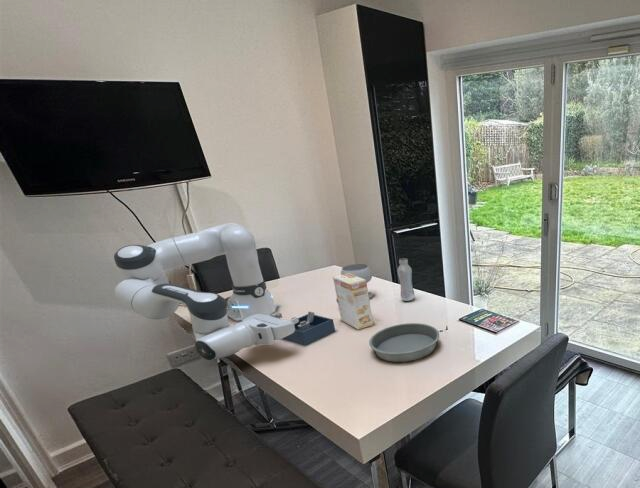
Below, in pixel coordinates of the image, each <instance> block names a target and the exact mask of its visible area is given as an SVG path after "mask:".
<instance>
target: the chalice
mask: <svg viewBox="0 0 640 488" xmlns="http://www.w3.org/2000/svg"><path fill="white" fill-rule="evenodd" d="M346 273H350V274H352V275H355V276H357V277H360V278H362V279H365V280H366V282H367V284H368V283H369V282H371V280H372V278H373V273H372V270H371V269H370V267H369V266H368V265H367V264H364V263H355V264H348V265H345V266H343V267H342V268H341V271H340V275H341V274H346ZM368 295H369V299H371V298H372V297H373V296H374V294H373V293H372V292H370V291H368Z"/></svg>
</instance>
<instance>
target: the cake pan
mask: <svg viewBox="0 0 640 488" xmlns="http://www.w3.org/2000/svg"><path fill="white" fill-rule="evenodd" d="M439 338H440V332H439V330H438V329H437V328H436V327H434V326H432V325H429V324H425V323H418V322H411V323H410V322H409V323H408V322H407V323H399V324H395V325H390V326H387V327H385V328H383V329H381V330H379V331H377V332H376V333H374V334H372V336H371V337H370V339H369V341H368V342H369V346H370V349H372V350H374V352H375V353H376V355H377V357H378V358H380V359H381V360H383V361H388V362H393V363H394V362H395V363H403V362H412V361H416V360H419V359H422V358H424V357H426V356H428V355H430V354H431V353H432V352H433V351H435V349H436V347H437V341H438V340H439Z"/></svg>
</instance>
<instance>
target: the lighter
mask: <svg viewBox="0 0 640 488" xmlns="http://www.w3.org/2000/svg"><path fill="white" fill-rule="evenodd" d="M307 314H308V317H307V322H306V321H302V322H300V325H298V330H300V331H305V330H307V329H310V323H313V318H314V315H315V312H314V311H308V313H307Z"/></svg>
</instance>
